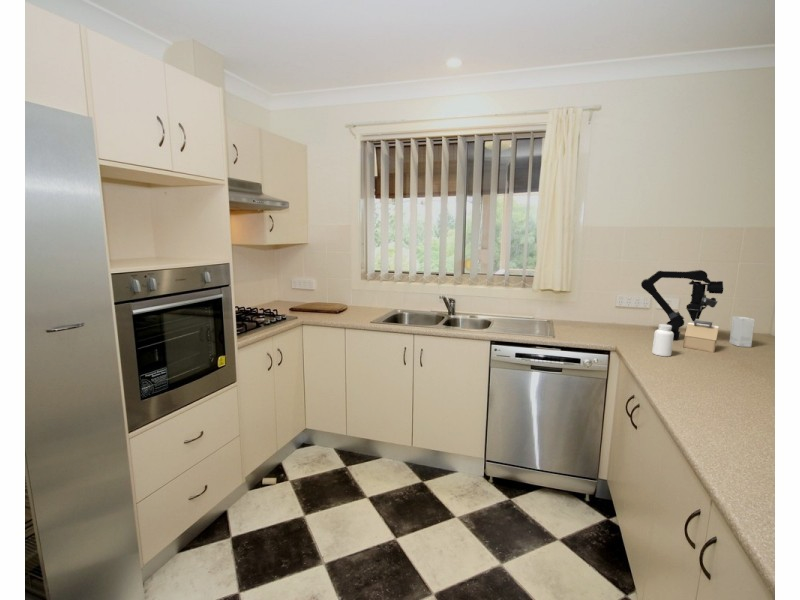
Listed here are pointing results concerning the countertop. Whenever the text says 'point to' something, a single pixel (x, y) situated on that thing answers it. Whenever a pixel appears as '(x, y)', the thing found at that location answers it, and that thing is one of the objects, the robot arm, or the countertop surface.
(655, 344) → the pill bottle
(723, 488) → the countertop surface
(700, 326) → the beige handled lid
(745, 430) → the countertop surface
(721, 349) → the countertop surface
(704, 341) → the wooden drawer
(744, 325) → the skincare box
